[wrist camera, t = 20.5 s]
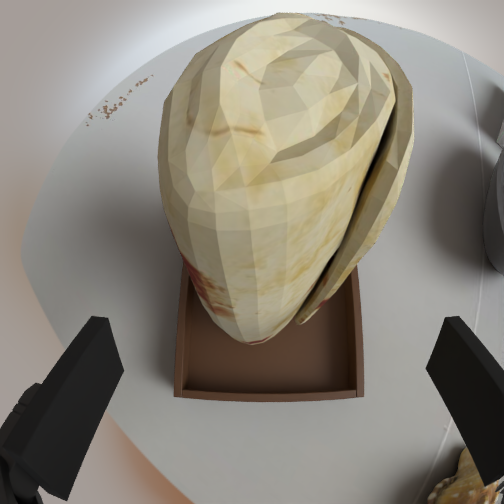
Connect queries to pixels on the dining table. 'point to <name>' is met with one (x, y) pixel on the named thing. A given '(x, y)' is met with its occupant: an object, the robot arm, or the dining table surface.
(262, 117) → the food model
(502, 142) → the tray
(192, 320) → the serving tray
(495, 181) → the bowl
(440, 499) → the seashell
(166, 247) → the dining table surface
